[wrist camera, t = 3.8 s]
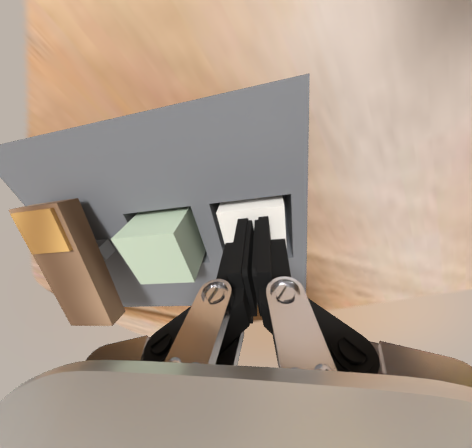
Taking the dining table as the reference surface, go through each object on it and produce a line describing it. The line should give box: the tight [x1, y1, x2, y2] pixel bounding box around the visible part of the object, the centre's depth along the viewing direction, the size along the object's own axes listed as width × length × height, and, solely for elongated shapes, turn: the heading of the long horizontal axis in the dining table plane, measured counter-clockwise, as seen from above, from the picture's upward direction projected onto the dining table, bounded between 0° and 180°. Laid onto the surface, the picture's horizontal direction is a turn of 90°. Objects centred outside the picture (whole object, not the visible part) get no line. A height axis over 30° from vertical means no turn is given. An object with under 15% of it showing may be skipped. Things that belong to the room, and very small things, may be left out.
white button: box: [216, 195, 287, 248], centre depth 12 cm, size 4×4×3 cm
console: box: [0, 74, 309, 307], centre depth 14 cm, size 17×14×5 cm
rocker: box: [9, 198, 125, 326], centre depth 12 cm, size 3×8×1 cm, turn 11°
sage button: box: [111, 206, 206, 284], centre depth 12 cm, size 4×4×3 cm
